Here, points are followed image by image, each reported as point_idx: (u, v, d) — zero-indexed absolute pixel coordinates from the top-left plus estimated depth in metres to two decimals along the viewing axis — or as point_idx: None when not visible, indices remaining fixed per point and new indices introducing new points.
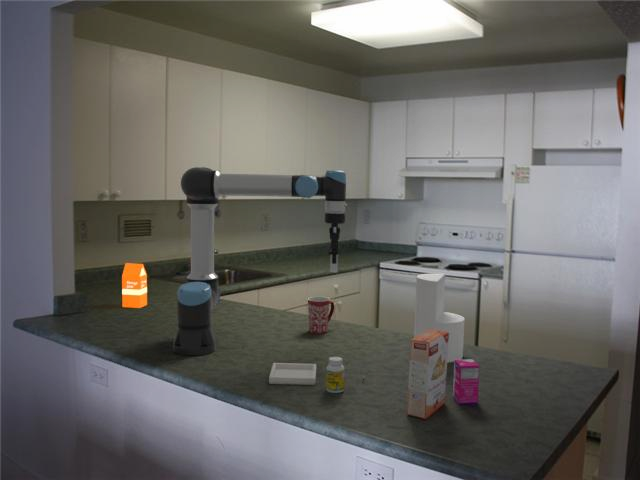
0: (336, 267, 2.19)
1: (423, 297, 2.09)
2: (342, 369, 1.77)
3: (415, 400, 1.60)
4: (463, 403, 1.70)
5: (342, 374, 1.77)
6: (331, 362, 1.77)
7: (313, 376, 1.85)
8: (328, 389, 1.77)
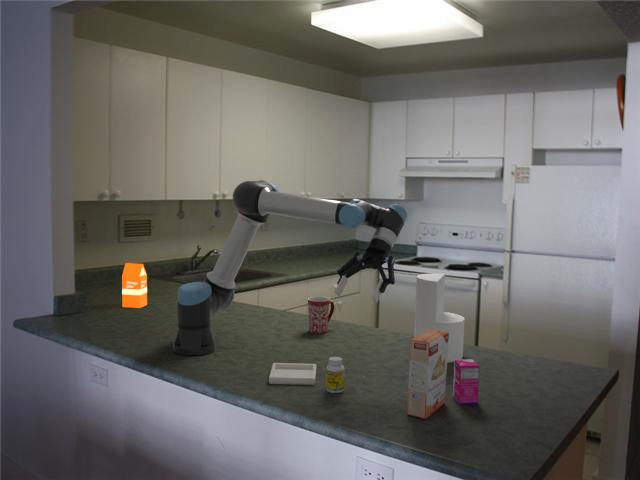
0: (378, 297, 1.85)
1: (423, 297, 2.09)
2: (342, 369, 1.77)
3: (415, 400, 1.60)
4: (463, 403, 1.70)
5: (342, 374, 1.77)
6: (331, 362, 1.77)
7: (313, 376, 1.85)
8: (328, 389, 1.77)
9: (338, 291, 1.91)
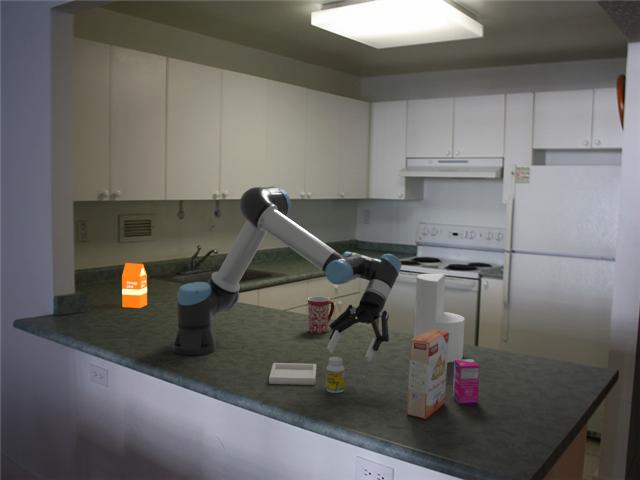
0: (372, 355, 1.79)
1: (423, 297, 2.09)
2: (342, 369, 1.77)
3: (415, 400, 1.60)
4: (463, 403, 1.70)
5: (342, 374, 1.77)
6: (331, 362, 1.77)
7: (313, 376, 1.85)
8: (328, 389, 1.77)
9: (330, 347, 1.85)
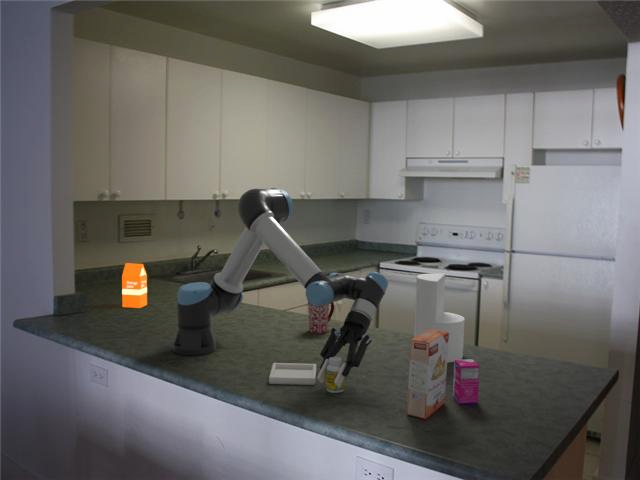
0: (341, 381, 1.75)
1: (423, 297, 2.09)
2: None
3: (415, 400, 1.60)
4: (463, 403, 1.70)
5: None
6: (331, 362, 1.77)
7: (313, 376, 1.85)
8: (328, 389, 1.77)
9: (321, 377, 1.77)
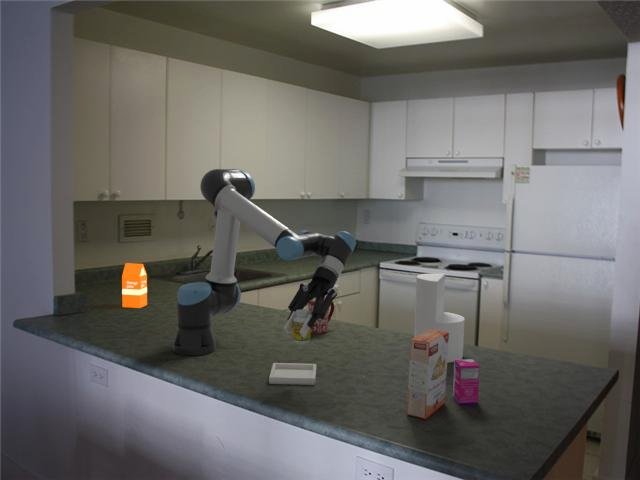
0: (307, 331, 1.83)
1: (423, 297, 2.09)
2: None
3: (415, 400, 1.60)
4: (463, 403, 1.70)
5: None
6: (297, 314, 1.84)
7: (313, 376, 1.85)
8: (294, 339, 1.85)
9: (287, 328, 1.85)
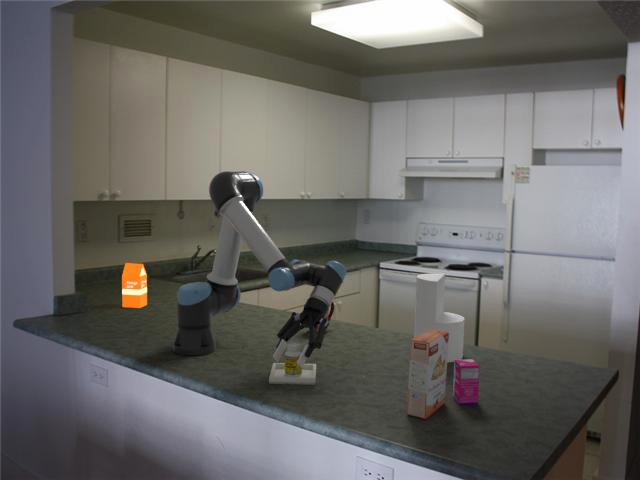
0: (304, 361, 1.85)
1: (423, 297, 2.09)
2: (299, 354, 1.88)
3: (415, 400, 1.60)
4: (463, 403, 1.70)
5: None
6: (289, 348, 1.88)
7: (313, 376, 1.85)
8: (286, 373, 1.89)
9: (276, 356, 1.90)
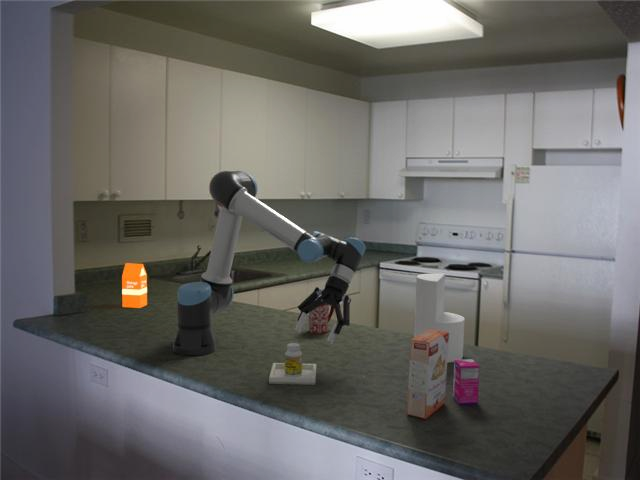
0: (334, 338, 1.96)
1: (423, 297, 2.09)
2: (299, 354, 1.88)
3: (415, 400, 1.60)
4: (463, 403, 1.70)
5: (299, 359, 1.88)
6: (289, 348, 1.88)
7: (313, 376, 1.85)
8: (286, 373, 1.89)
9: (298, 328, 2.03)
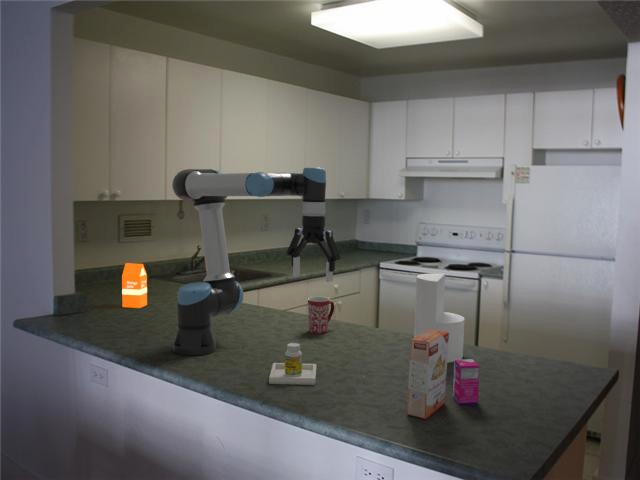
0: (331, 275, 1.97)
1: (423, 297, 2.09)
2: (299, 354, 1.88)
3: (415, 400, 1.60)
4: (463, 403, 1.70)
5: (299, 359, 1.88)
6: (289, 348, 1.88)
7: (313, 376, 1.85)
8: (286, 373, 1.89)
9: (296, 274, 2.04)
